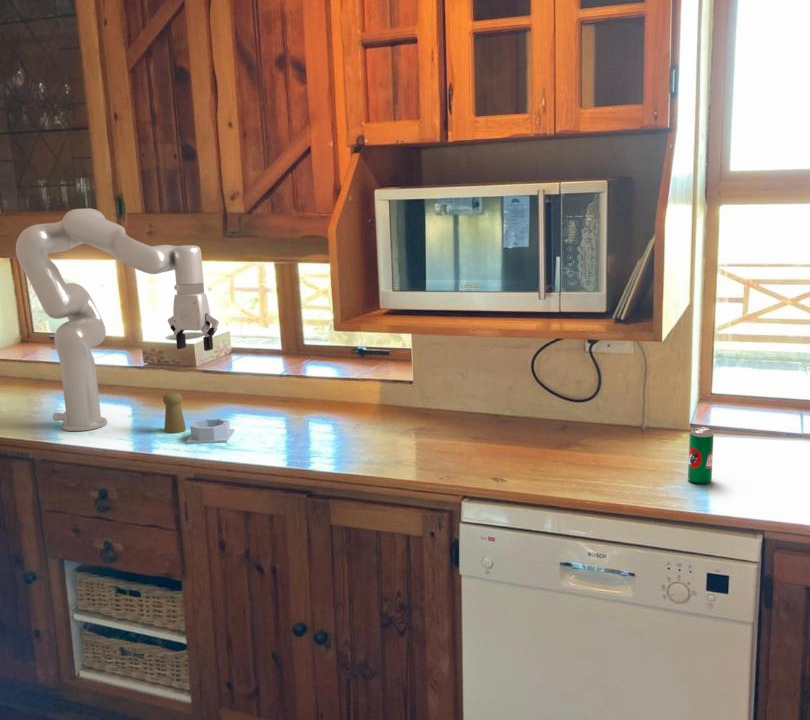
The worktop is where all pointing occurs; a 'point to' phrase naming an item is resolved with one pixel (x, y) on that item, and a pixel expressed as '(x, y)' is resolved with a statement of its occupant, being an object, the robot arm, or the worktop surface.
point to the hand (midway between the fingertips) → (195, 349)
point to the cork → (173, 413)
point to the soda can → (700, 455)
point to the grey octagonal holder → (210, 431)
